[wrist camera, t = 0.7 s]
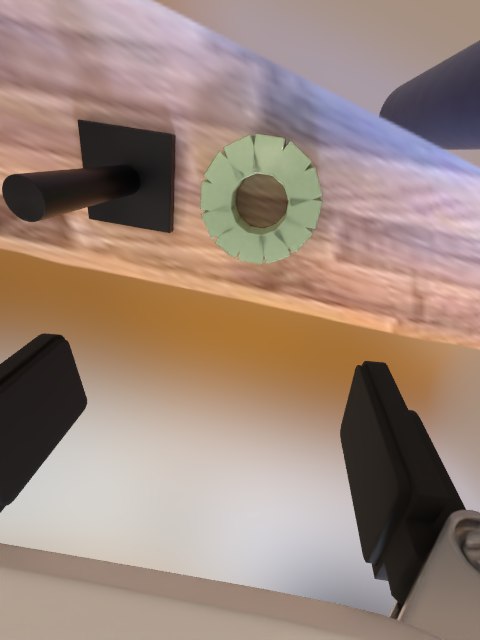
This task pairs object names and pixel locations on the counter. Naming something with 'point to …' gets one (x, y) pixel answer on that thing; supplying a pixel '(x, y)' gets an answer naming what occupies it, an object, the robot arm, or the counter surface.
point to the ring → (268, 160)
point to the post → (105, 180)
